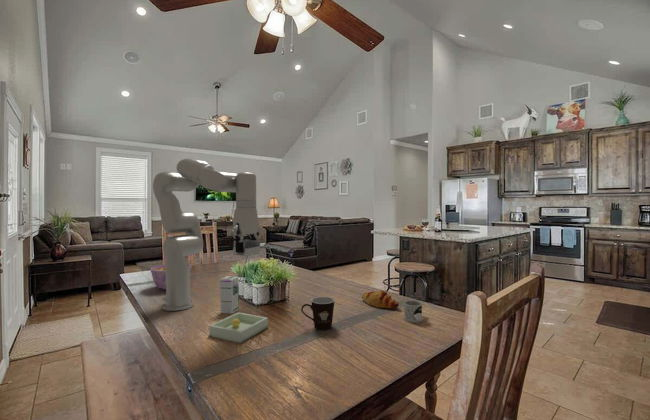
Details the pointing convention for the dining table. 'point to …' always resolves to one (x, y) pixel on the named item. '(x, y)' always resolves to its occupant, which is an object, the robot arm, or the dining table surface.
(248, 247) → the open shelf cabinet
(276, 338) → the dining table surface
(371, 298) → the croissant
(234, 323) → the ball
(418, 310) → the mug
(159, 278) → the bowl of food
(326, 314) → the coffee mug
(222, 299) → the syrup box
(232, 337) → the tray
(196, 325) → the dining table surface
